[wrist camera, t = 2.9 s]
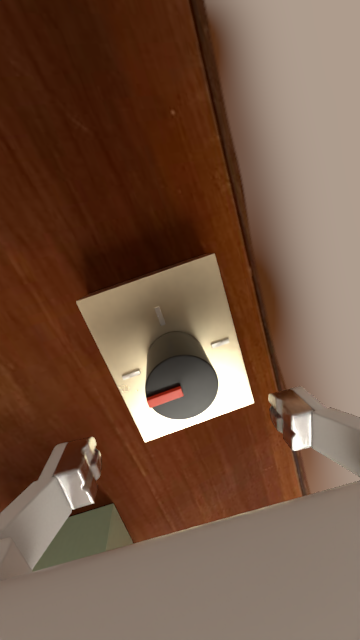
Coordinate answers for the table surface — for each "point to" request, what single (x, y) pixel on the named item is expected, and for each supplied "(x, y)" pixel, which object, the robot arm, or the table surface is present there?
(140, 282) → the panel
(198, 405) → the knob
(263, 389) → the table surface
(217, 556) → the robot arm
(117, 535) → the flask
